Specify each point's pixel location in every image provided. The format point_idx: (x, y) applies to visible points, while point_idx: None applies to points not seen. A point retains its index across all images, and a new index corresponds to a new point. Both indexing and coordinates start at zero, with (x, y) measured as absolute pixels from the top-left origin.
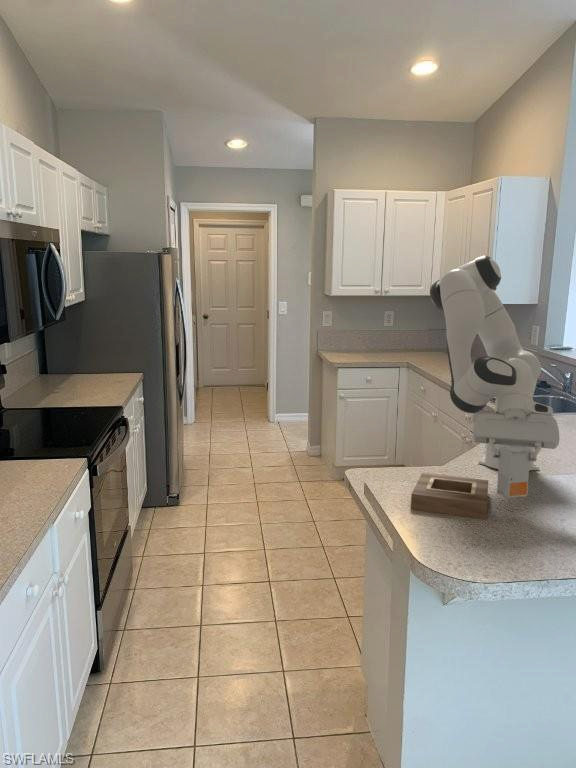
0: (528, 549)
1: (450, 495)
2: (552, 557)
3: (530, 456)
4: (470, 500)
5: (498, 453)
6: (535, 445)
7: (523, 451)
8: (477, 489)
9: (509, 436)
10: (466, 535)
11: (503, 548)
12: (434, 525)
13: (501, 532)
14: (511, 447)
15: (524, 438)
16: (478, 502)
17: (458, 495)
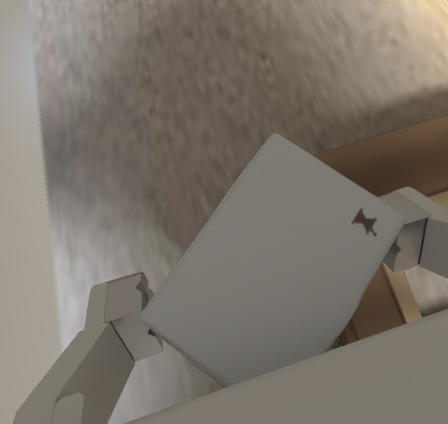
0: (124, 38)
1: (428, 162)
2: (67, 27)
3: (138, 276)
4: (349, 153)
5: None
6: (84, 397)
7: (189, 246)
8: (394, 316)
9: (419, 339)
10: (274, 30)
11: (175, 9)
12: (367, 42)
13: (211, 106)
14: (309, 255)
15: (212, 396)
16: (320, 153)
17: (408, 182)
